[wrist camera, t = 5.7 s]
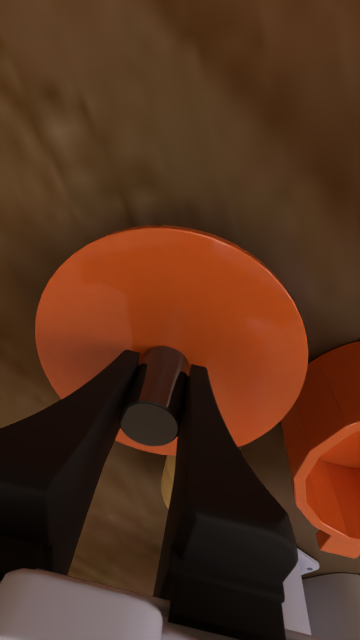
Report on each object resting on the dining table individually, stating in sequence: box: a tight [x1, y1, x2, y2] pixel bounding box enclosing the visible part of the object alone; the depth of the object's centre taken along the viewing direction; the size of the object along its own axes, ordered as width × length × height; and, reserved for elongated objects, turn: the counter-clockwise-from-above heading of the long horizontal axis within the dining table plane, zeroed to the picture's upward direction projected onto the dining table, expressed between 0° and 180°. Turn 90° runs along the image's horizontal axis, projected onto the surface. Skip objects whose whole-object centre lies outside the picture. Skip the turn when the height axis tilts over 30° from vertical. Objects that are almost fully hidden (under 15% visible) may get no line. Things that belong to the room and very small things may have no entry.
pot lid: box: [35, 225, 308, 456], centre depth 13 cm, size 12×12×4 cm
